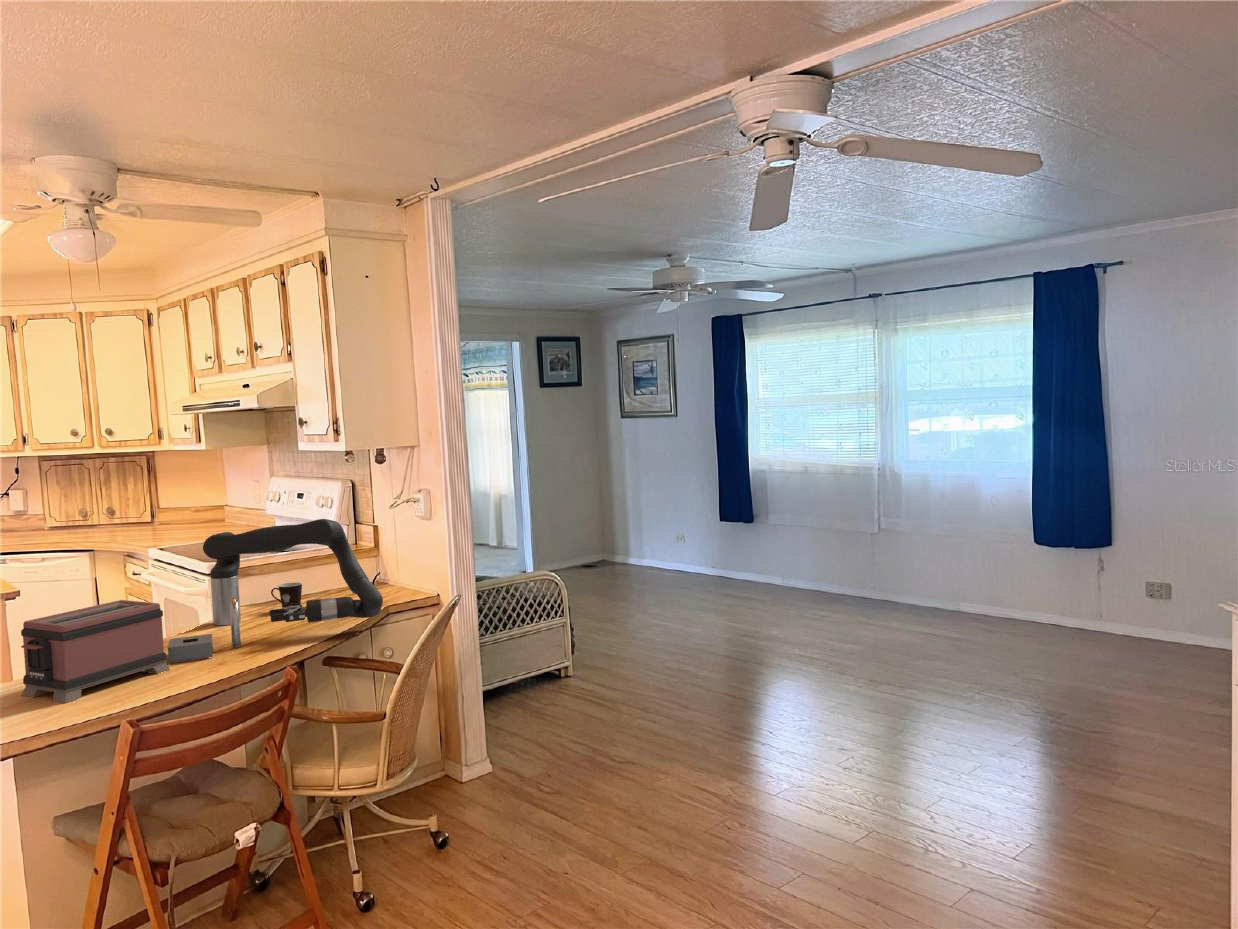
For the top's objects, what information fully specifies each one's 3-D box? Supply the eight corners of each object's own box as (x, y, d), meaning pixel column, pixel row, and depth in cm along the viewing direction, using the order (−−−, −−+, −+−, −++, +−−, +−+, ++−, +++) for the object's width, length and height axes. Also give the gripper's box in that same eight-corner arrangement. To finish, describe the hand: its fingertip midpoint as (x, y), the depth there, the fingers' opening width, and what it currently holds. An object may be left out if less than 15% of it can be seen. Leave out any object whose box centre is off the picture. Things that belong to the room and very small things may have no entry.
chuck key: (232, 646, 277) (229, 597, 276) (240, 645, 279) (238, 596, 278) (232, 650, 272) (229, 601, 271) (241, 649, 273) (238, 600, 272)
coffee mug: (308, 608, 330) (306, 583, 330) (289, 613, 323) (287, 587, 323) (289, 606, 337) (287, 581, 336) (270, 610, 329) (268, 585, 329)
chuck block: (171, 654, 270) (170, 638, 269) (212, 648, 275) (212, 633, 274) (168, 663, 259) (167, 647, 258) (212, 658, 264) (211, 642, 263)
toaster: (9, 699, 229) (3, 625, 228) (127, 664, 260) (123, 598, 259) (54, 708, 221) (48, 630, 220) (170, 670, 252) (166, 602, 251)
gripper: (319, 595, 293) (268, 600, 286) (323, 603, 280) (270, 609, 273) (320, 616, 293) (269, 622, 286) (324, 625, 280) (271, 631, 273)
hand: (270, 616), depth 280 cm, fingers open, 8 cm apart
